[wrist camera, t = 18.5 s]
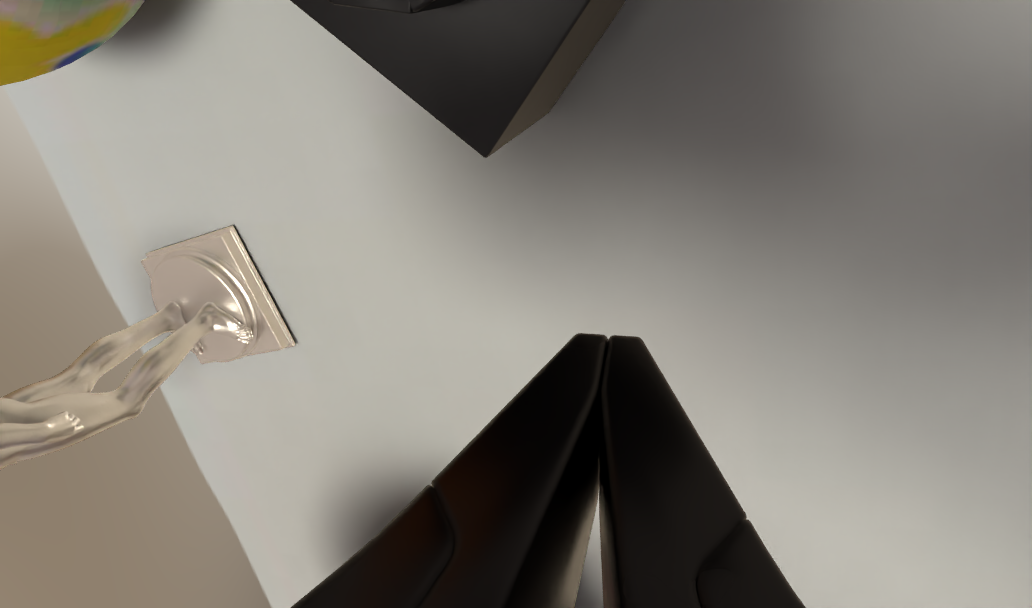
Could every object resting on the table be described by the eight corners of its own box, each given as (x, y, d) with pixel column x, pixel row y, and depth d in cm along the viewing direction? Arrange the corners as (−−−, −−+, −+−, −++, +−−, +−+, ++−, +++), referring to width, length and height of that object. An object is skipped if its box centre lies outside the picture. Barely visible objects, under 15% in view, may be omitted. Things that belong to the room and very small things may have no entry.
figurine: (175, 367, 33) (-331, 720, 18) (110, 239, 30) (-547, 532, 15) (307, 368, 29) (-183, 802, 15) (248, 223, 27) (-428, 579, 12)
